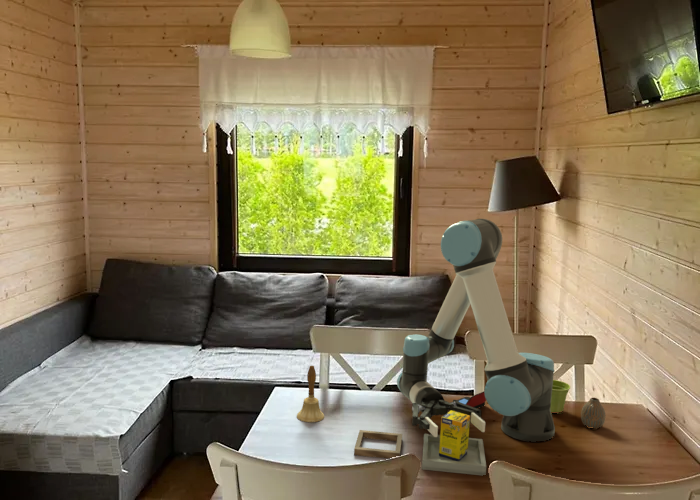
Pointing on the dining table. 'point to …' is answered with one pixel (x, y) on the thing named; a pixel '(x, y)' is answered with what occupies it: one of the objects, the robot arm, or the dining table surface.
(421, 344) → the robot arm
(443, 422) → the supplement box
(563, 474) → the dining table surface
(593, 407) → the vase
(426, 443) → the grey tray
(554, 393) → the plant pot
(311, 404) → the hand bell
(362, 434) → the walnut collar
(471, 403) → the handheld game console
